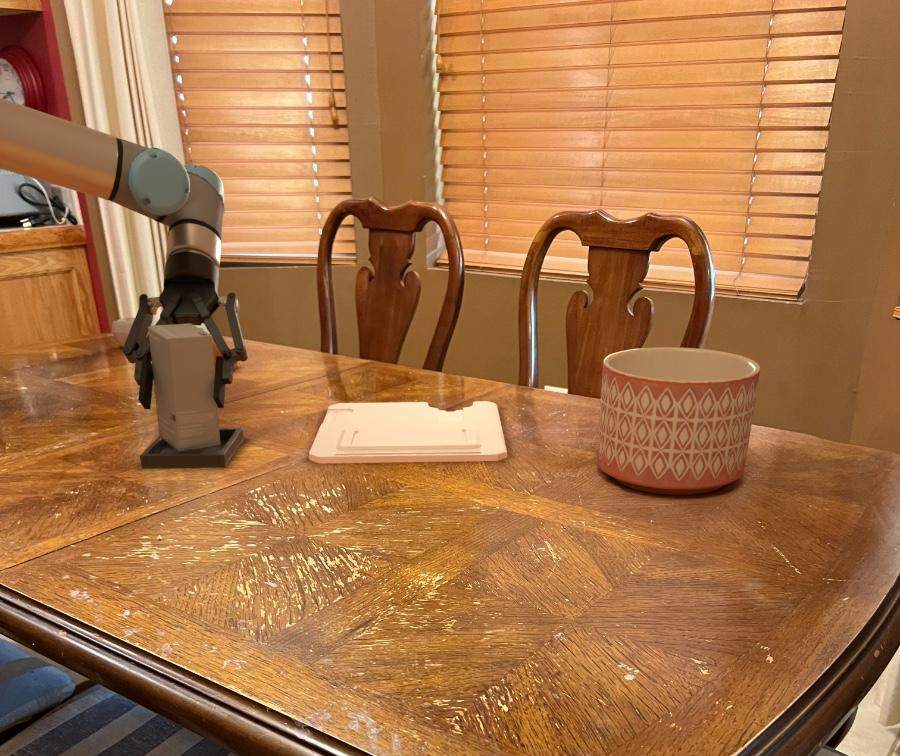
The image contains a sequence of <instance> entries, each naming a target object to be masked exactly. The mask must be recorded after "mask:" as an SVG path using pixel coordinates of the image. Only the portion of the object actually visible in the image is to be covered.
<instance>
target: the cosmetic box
mask: <svg viewBox="0 0 900 756" xmlns="http://www.w3.org/2000/svg"><path fill="white" fill-rule="evenodd" d="M148 331H149V332H148V334H149V340H150V349H151V359H152V361H151V363H152V368H153V387H154V398H155V406H156V416H157V426H158V436H159V435H160V437H161V438H162V439H164V440H165V441H166V442H167V443H169V444H170V445H171V446H172V447H174V448H175V449H177V450H178V451H185V450H191V449H197V448H203V447H209V446H215V445H220V444H221V442H220V432H219V428H220V421H219V408H218V406H217V404H216V402H215V400H214V398H213V395H214V380H215V365H214V352H213V339H212V335H211V334H210V333H209V332H208V331H205V330H204V328H203V327H200V326H196V325H193V324H191V323H188V324H173V325H155V324H154V325H151V326H149V327H148Z"/></svg>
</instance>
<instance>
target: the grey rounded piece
mask: <svg viewBox="0 0 900 756" xmlns="http://www.w3.org/2000/svg"><path fill="white" fill-rule="evenodd" d="M134 320H135V317H125V318H124V317H123V318H118V319H117V320H113V321H112V322H111V332H112V335H113V336H114V339H115V340H116V342H117V343H118V344H119V345H120V346H121V347H122V348H123V347H124V344H125V342H126V339H127V337H128V334H129V332H130V329H131V327H132V325H133V322H134ZM148 334H149V331H148ZM148 334H147V336H148ZM147 336H146V337H147Z"/></svg>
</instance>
